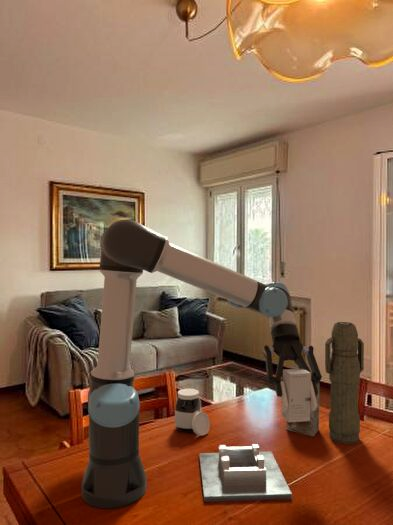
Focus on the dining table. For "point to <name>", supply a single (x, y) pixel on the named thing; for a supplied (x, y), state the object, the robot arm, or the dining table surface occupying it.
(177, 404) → the spread jar
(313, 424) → the coffee box
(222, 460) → the box holder fixture
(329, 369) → the thermos
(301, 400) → the skincare box
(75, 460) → the dining table surface
